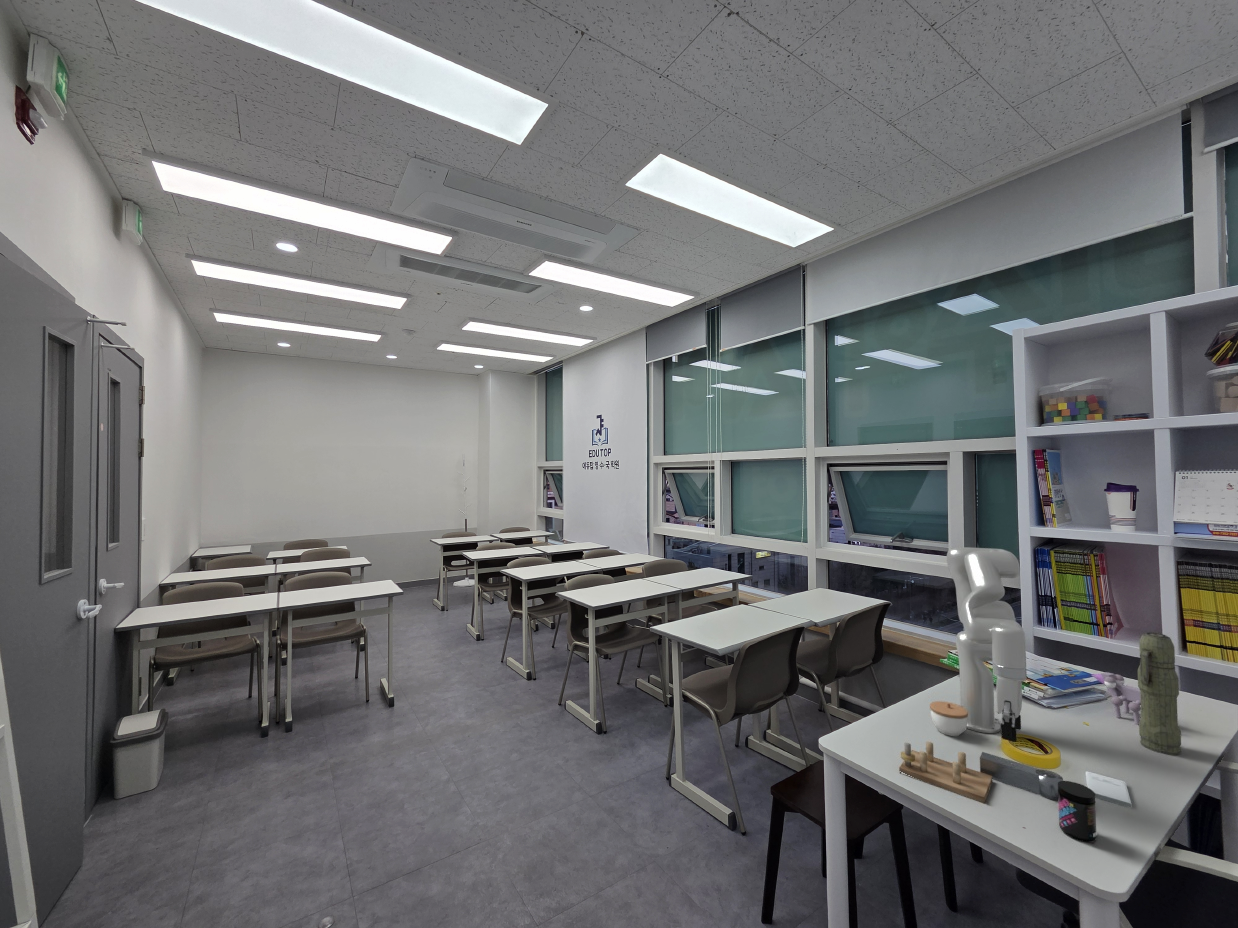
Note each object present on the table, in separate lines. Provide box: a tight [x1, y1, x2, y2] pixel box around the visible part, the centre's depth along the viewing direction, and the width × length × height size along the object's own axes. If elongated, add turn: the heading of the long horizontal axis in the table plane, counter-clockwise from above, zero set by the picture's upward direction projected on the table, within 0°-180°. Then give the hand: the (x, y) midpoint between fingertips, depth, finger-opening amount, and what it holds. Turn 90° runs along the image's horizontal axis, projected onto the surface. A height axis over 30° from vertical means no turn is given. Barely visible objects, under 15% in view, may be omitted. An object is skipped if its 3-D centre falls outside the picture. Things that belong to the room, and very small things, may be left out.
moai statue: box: [1137, 631, 1182, 756], centre depth 159 cm, size 9×12×35 cm
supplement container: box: [1057, 780, 1098, 843], centre depth 121 cm, size 7×7×10 cm
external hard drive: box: [1085, 771, 1133, 809], centre depth 138 cm, size 2×8×12 cm
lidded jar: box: [929, 700, 968, 737], centre depth 170 cm, size 11×11×9 cm
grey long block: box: [979, 751, 1064, 802], centre depth 140 cm, size 6×18×5 cm, turn 46°
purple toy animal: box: [1091, 671, 1141, 725], centre depth 180 cm, size 20×11×14 cm, turn 21°
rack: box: [898, 741, 993, 804], centre depth 144 cm, size 13×20×8 cm, turn 46°
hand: (1011, 733), depth 141 cm, fingers open, 9 cm apart
